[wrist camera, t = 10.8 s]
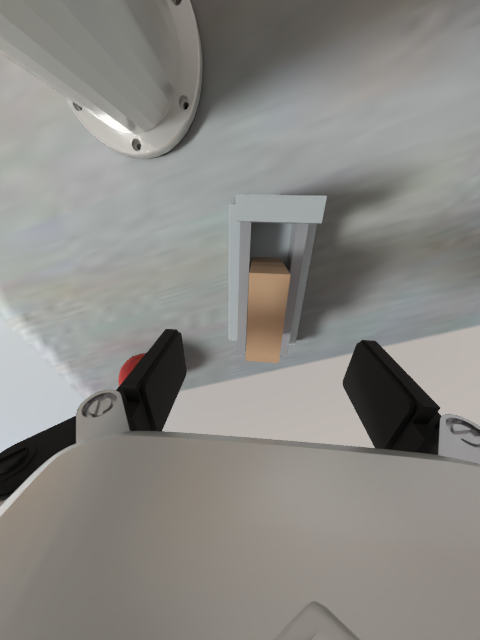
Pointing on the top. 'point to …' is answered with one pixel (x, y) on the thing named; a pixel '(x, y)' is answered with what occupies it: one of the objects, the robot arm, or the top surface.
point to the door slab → (266, 308)
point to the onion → (129, 367)
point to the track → (270, 253)
